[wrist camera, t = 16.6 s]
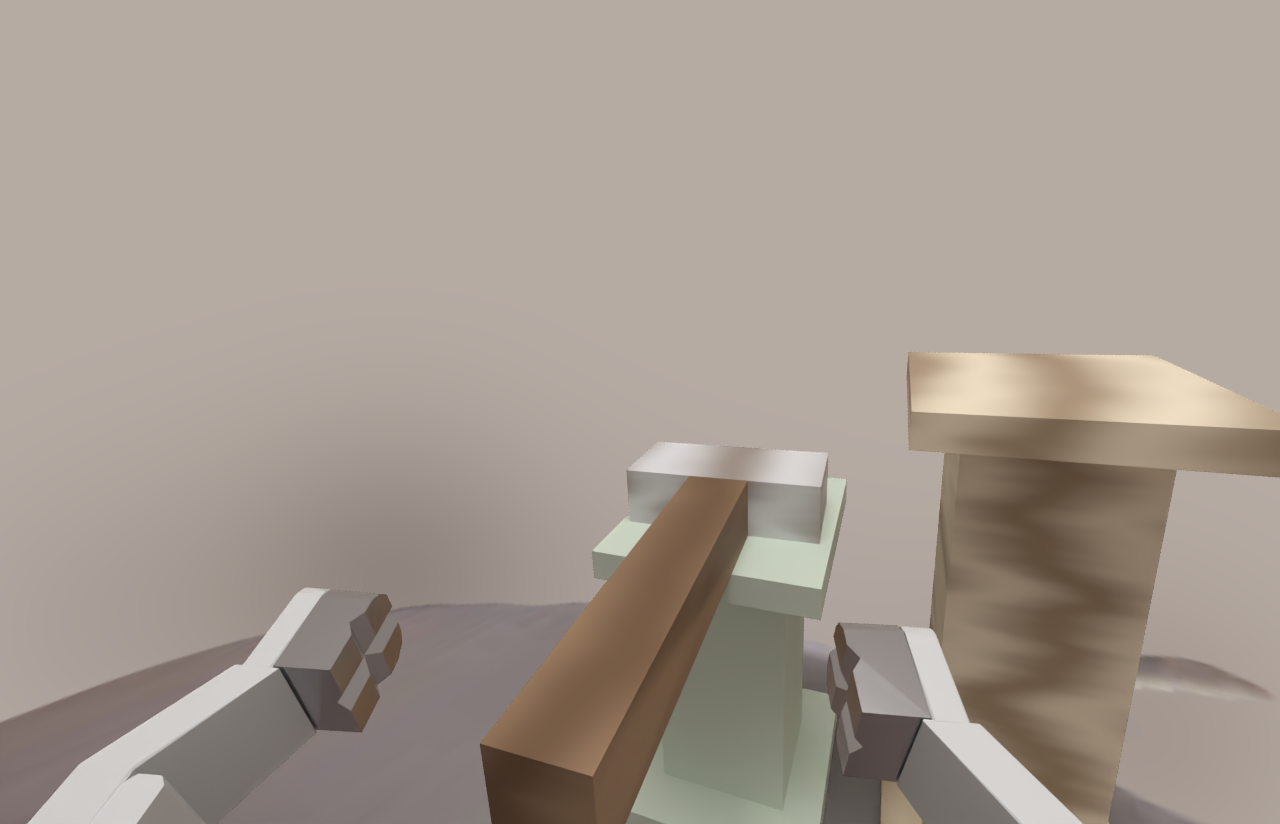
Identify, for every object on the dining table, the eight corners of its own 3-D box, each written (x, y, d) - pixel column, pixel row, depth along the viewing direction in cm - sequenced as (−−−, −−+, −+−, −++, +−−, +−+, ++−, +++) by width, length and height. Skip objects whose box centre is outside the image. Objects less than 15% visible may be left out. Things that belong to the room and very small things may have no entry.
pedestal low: (614, 832, 34) (592, 551, 29) (687, 683, 45) (679, 463, 41) (811, 905, 30) (821, 589, 25) (836, 720, 41) (846, 479, 36)
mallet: (386, 801, 16) (367, 710, 15) (659, 487, 37) (657, 441, 36) (750, 932, 13) (749, 823, 12) (826, 503, 33) (828, 452, 32)
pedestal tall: (875, 930, 28) (911, 411, 22) (883, 731, 40) (908, 352, 33) (1163, 1037, 24) (1319, 431, 17) (1079, 780, 36) (1154, 355, 29)
